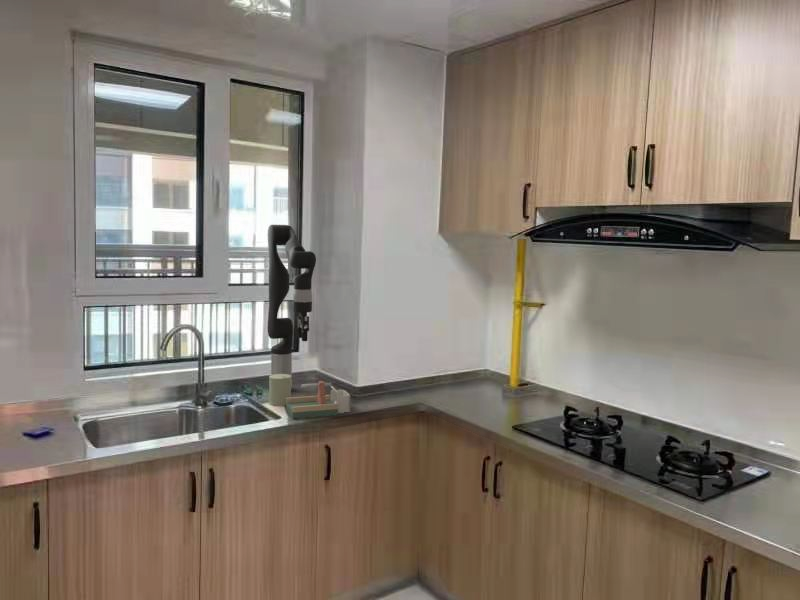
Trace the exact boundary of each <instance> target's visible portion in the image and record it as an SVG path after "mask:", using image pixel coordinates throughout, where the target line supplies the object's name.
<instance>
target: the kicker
mask: <svg viewBox="0 0 800 600" xmlns="http://www.w3.org/2000/svg"><path fill="white" fill-rule="evenodd" d="M331 386H333V385H332V382H325V381H324V380H318V382H317V383H304V384H303V383H302V384H301V389H307V388H317V393H316V396H317V403H318V404H319V405H322V404H326V397H325V395H326V392H325V389H326V387H331Z"/></svg>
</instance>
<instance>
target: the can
mask: <svg viewBox="0 0 800 600" xmlns="http://www.w3.org/2000/svg"><path fill="white" fill-rule="evenodd" d="M268 383H269V386H268V387H269V389H268V390H269V392H268V393H269V396H268V397H269V402H268V404H269V405H271V406H275V407H279V406H280V407H282V406H283V407H284V406H286V398H291V396H292V395H291V394H292V392H291V391H292V390H291V375H288V374H274V375H271V374H270V375H269V376H268Z"/></svg>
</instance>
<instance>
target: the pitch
mask: <svg viewBox="0 0 800 600" xmlns="http://www.w3.org/2000/svg"><path fill="white" fill-rule="evenodd" d="M325 397H326V404H322V405H319V404H318V403H317V395H310V396H309V395H308V396H294V397H291V398H286V405H285V408H286V410H287V412H288V414H289V415H290V418H291V419H292V418H297V419H306V418H305V417H309V418H317V417H316V416H321V417H328V416H327V415H333V416H338V415H339V413H338V403H336V404H333V403H332V402H331V394H325Z"/></svg>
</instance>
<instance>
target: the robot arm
mask: <svg viewBox="0 0 800 600" xmlns="http://www.w3.org/2000/svg"><path fill="white" fill-rule="evenodd" d="M277 246H284V250H285V254H286V255H287V256H288V257H289V265H290V267H292V268H293V269H297V270H298V269H303V270H304V269H305V270H304V272H303V273H300V274H296V275H294V278H293V283H294V285H293V303H292V304H293V312H295V313H296V328H297V338H298V339H301V341H302V342H308V335H309V332H310V317H309V316H308V313H311V312H313V291H312V281H313V280H312V279H313V273H314V270H315V266H316V264H317V257H316V254H315V252H313V251H311V250H310V251H308V250H306V249H305V248H304V247H303V245H302V244H301V243H300V242H299V240H298V238H297V235H296V232H295V231H294V228H293V227H292V226H291V225H289V224H269V226H268V229H267V249H268V313H267V335H268V337H269V339H271V340H274V339H275V340H277V339H282V340H280V342H278V343H277V344H275V345H273V346H272V347H271V348H270V349H271V350H270V359H271V360H270V365H271V366H270V367H271V370H270V371H271V372H270V375H274V374H288V375H291V391H292V389H293V386H292V385H293V384H292V383H293V382H292V380H293V373H292V371H293V369H292V368H293V366H292V364H293V363H292V361H293V360H292V359H293V358H292V356H293V355H292V354H293V353H292V352H293V341H294V340H293V337H294V324H293V320H292V319H291V318H290V317H278V315H279V314H278V313H279V310H280V308H281V305H282V303H283V302H284V300H285V298H287V295H288V294H289V291H290V273H289V271H288V269H287V268H286V266H285V264H284V263H283V261H282V259H281V258H280V256H279V252H278V247H277Z"/></svg>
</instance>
